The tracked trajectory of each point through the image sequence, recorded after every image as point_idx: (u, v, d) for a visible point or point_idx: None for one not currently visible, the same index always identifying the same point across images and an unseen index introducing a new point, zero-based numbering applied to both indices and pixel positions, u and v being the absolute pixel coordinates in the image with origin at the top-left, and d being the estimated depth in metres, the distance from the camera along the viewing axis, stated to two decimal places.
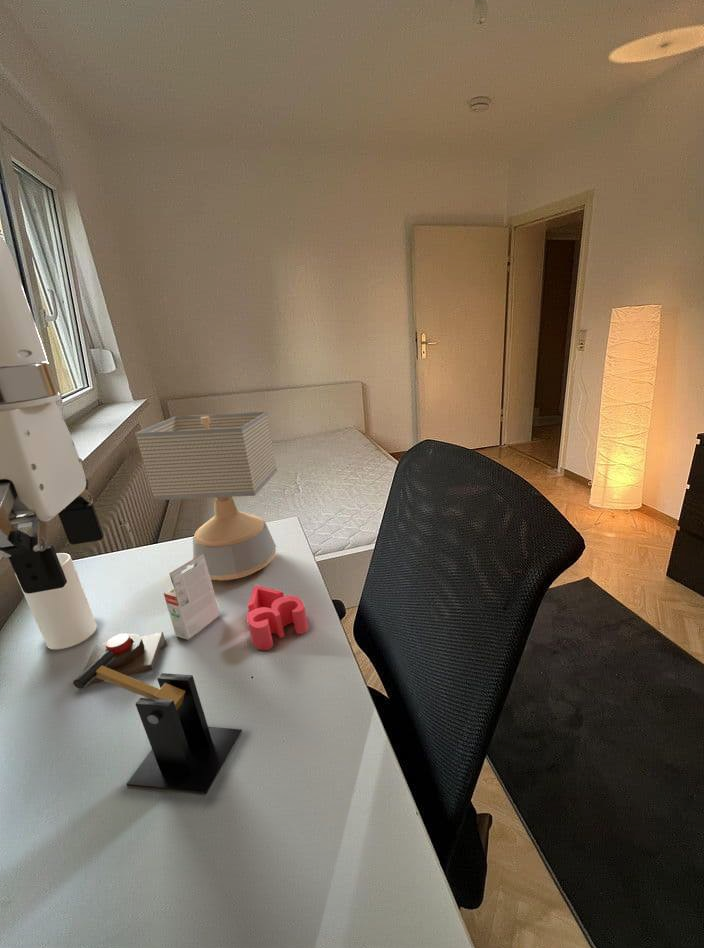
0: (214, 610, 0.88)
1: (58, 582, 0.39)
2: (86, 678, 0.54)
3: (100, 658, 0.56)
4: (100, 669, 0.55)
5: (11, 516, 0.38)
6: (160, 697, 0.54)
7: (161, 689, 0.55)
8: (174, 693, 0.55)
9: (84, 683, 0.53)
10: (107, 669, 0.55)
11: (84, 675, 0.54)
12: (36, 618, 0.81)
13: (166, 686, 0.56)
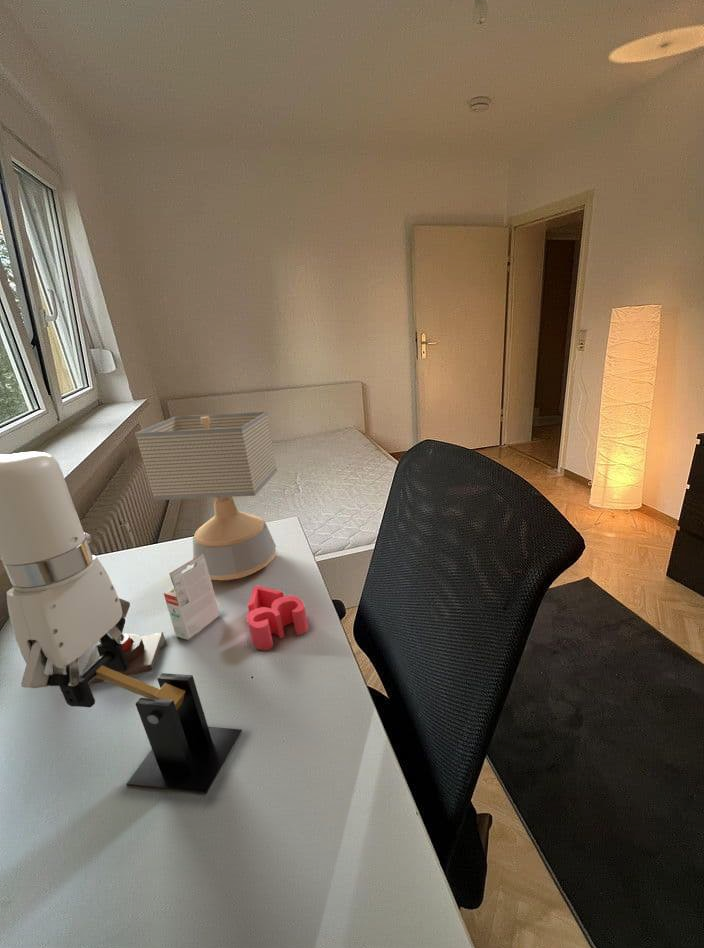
0: (214, 610, 0.88)
1: (88, 703, 0.53)
2: (86, 678, 0.54)
3: (100, 658, 0.56)
4: (100, 669, 0.55)
5: None
6: (160, 697, 0.54)
7: (161, 689, 0.55)
8: (174, 693, 0.55)
9: None
10: (107, 669, 0.55)
11: (84, 675, 0.54)
12: None
13: (166, 686, 0.56)
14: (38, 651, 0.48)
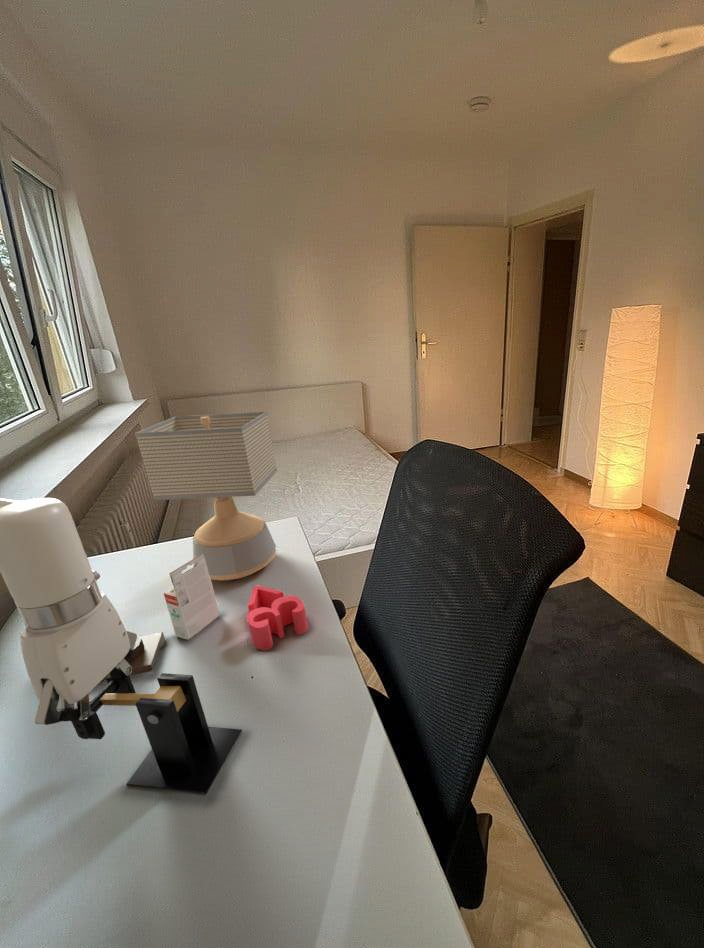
0: (214, 610, 0.88)
1: (98, 736, 0.55)
2: (90, 707, 0.55)
3: (103, 688, 0.58)
4: (104, 696, 0.57)
5: None
6: (156, 698, 0.54)
7: (157, 692, 0.55)
8: (169, 691, 0.55)
9: None
10: (110, 694, 0.57)
11: None
12: None
13: (162, 688, 0.56)
14: (50, 689, 0.50)
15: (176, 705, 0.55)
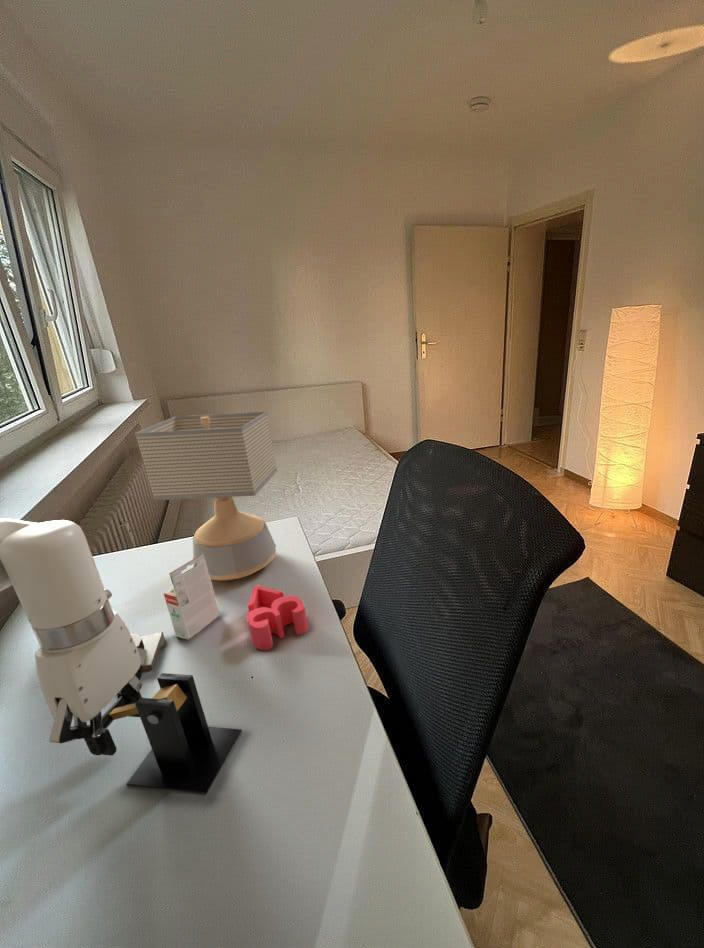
0: (214, 610, 0.88)
1: (110, 752, 0.56)
2: None
3: (113, 704, 0.59)
4: (112, 711, 0.58)
5: None
6: None
7: (156, 694, 0.56)
8: (167, 690, 0.55)
9: None
10: (118, 708, 0.58)
11: None
12: None
13: (161, 690, 0.56)
14: (65, 708, 0.51)
15: (175, 703, 0.55)
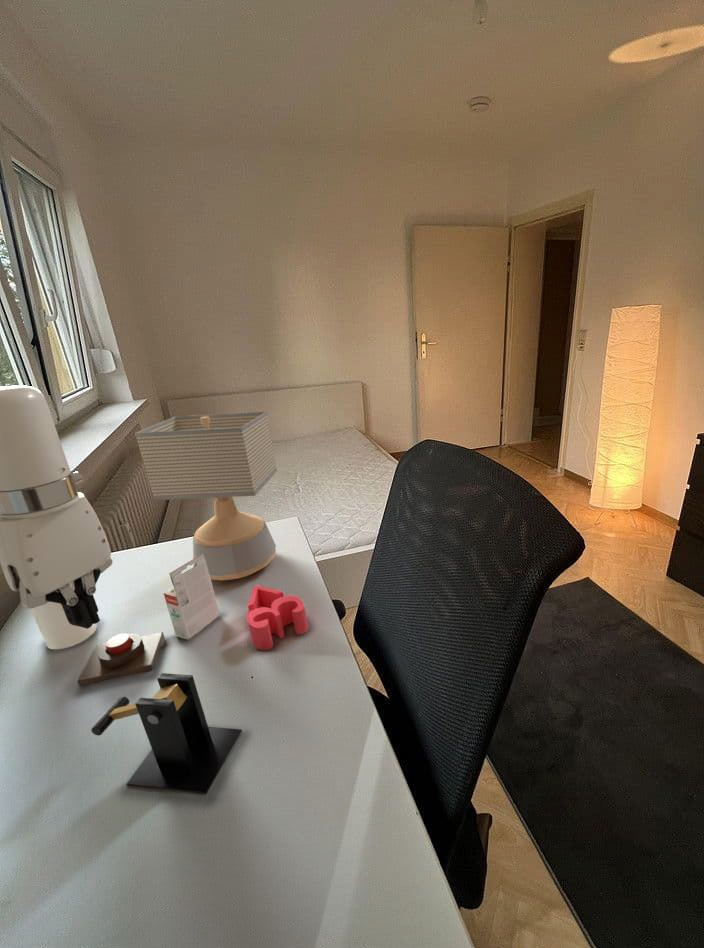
0: (214, 610, 0.88)
1: (85, 625, 0.57)
2: (100, 723, 0.56)
3: None
4: (112, 711, 0.58)
5: None
6: None
7: (156, 694, 0.56)
8: (167, 690, 0.55)
9: (99, 727, 0.56)
10: (118, 708, 0.58)
11: (97, 722, 0.56)
12: (36, 618, 0.81)
13: (161, 690, 0.56)
14: None
15: (175, 703, 0.55)
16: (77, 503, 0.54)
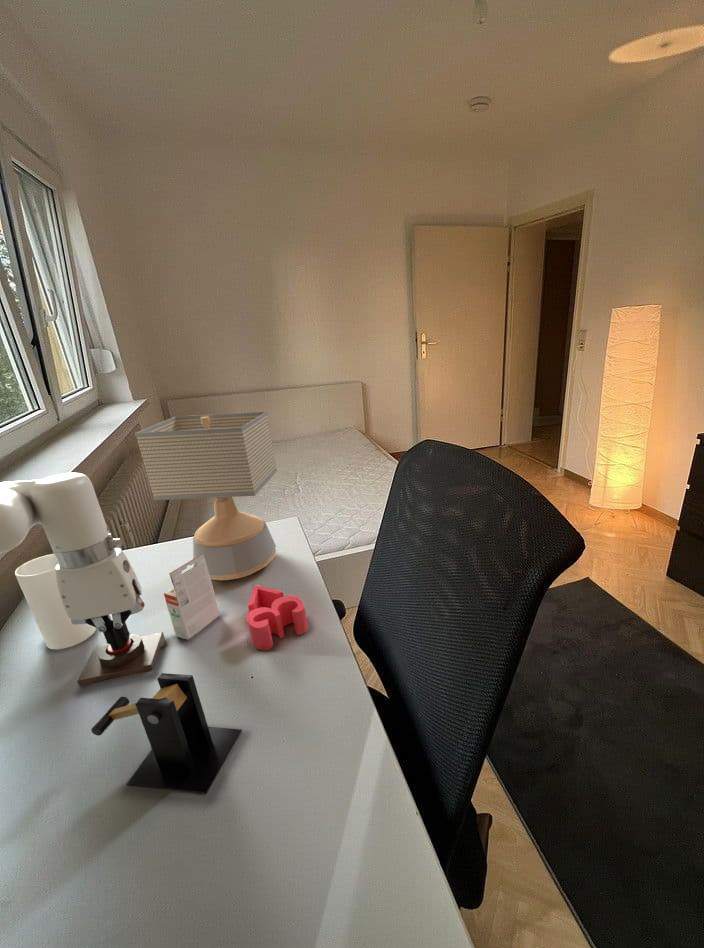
0: (214, 610, 0.88)
1: None
2: (100, 723, 0.56)
3: None
4: (112, 711, 0.58)
5: None
6: None
7: (156, 694, 0.56)
8: (167, 690, 0.55)
9: (99, 727, 0.56)
10: (118, 708, 0.58)
11: (97, 722, 0.56)
12: (36, 618, 0.81)
13: (161, 690, 0.56)
14: None
15: (175, 703, 0.55)
16: (102, 565, 0.69)
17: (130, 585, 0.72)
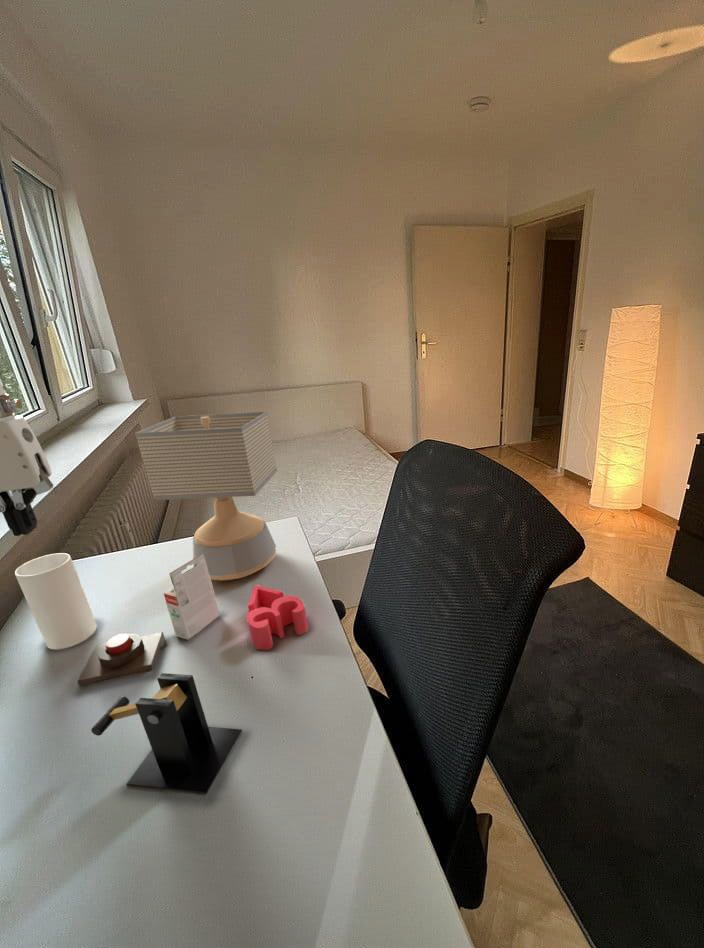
0: (214, 610, 0.88)
1: None
2: (100, 723, 0.56)
3: None
4: (112, 711, 0.58)
5: None
6: None
7: (156, 694, 0.56)
8: (167, 690, 0.55)
9: (99, 727, 0.56)
10: (118, 708, 0.58)
11: (97, 722, 0.56)
12: (36, 618, 0.81)
13: (161, 690, 0.56)
14: None
15: (175, 703, 0.55)
16: None
17: (32, 457, 0.63)
